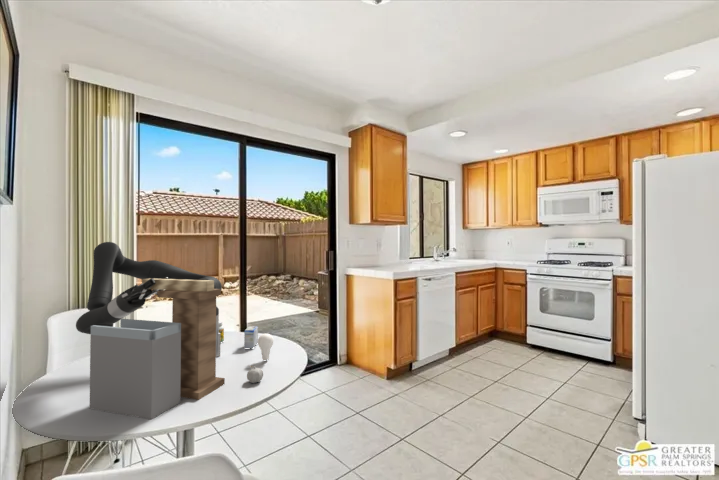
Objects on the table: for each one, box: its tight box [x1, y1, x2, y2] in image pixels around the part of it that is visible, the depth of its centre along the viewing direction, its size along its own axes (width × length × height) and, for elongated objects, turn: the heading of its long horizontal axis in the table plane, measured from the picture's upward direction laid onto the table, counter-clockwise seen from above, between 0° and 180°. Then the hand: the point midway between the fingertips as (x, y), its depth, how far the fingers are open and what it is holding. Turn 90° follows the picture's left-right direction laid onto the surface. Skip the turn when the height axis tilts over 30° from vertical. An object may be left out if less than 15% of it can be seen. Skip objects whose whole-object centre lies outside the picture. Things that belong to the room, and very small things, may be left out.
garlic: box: [246, 365, 264, 384], centre depth 116 cm, size 6×5×5 cm
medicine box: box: [243, 325, 259, 349], centre depth 156 cm, size 8×4×9 cm, turn 5°
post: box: [156, 289, 226, 401], centre depth 111 cm, size 18×12×32 cm, turn 75°
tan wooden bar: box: [141, 278, 214, 292], centre depth 112 cm, size 26×3×3 cm, turn 75°
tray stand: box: [89, 318, 181, 420], centre depth 99 cm, size 22×10×24 cm, turn 75°
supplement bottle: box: [219, 321, 225, 344], centre depth 163 cm, size 5×5×10 cm
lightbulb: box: [257, 333, 275, 361], centre depth 136 cm, size 6×6×11 cm
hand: (160, 280), depth 114 cm, fingers open, 5 cm apart
